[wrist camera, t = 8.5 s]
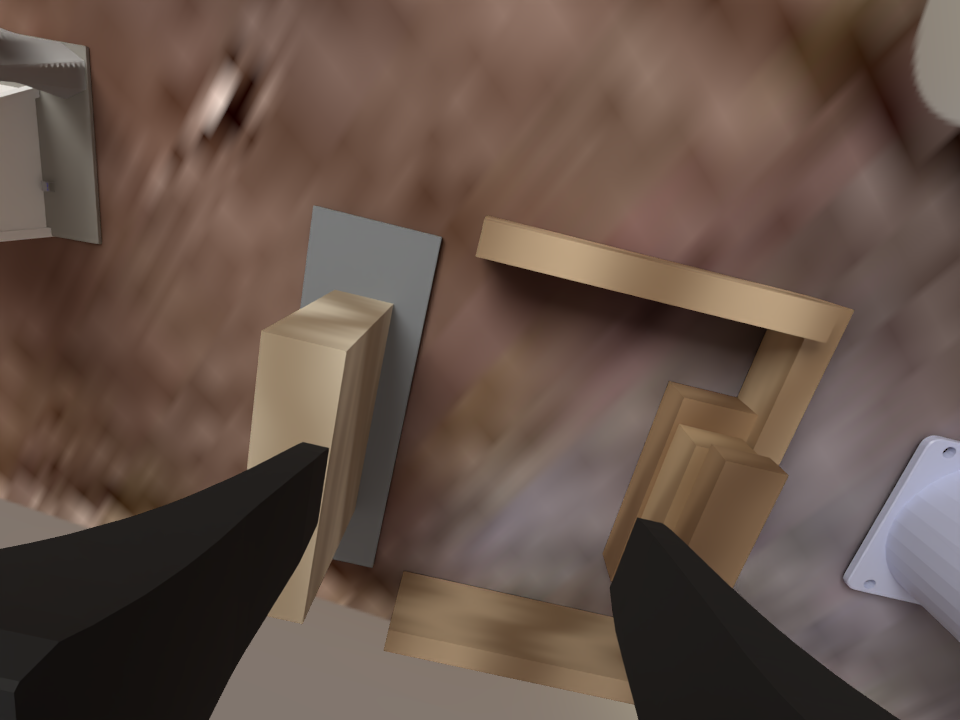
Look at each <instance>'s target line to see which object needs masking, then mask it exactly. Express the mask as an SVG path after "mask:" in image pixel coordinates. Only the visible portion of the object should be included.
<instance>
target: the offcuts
mask: <svg viewBox="0 0 960 720" xmlns="http://www.w3.org/2000/svg"><path fill="white" fill-rule="evenodd" d="M757 417H758V415H757V414H756V413H755V412H754V411H753V410H751V409H750V408H749V407H748V406H747V405H745V404H744V403H743V402H742V401H741V400H740V399H738V398H737V397H733V396H729V395H724V394H720V393H716V392H712V391H708V390H704V389H700V388H695V387H691V386H687V385H683V384H679V383H675V382H671V381H669V383H668V385H667V388H666V390H665V393H664V396H663V398H662V401H661V403H660V406H659V409H658V411H657V414H656V416H655V419H654V422H653V424H652V427H651V429H650V432H649V435H648V437H647V440H646V442H645V445H644V448H643V450H642V453H641V455H640V458H639V461H638V463H637V466H636V468H635V471H634V474H633V476H632V479H631V481H630V484H629V487H628V489H627V492H626V494H625V497H624V500H623V502H622V505H621V507H620V510H619V513H618V515H617V518H616V520H615V523H614V526H613V528H612V531H611V533H610V536H609V539H608V541H607V544H606V546H605V549H604V552H603V556H604V560H605V563H606V567H607V570H608V573H609V577H610V580H611V581H613V578H614V576H615V573H616V570H617V568H618V565H619V563H620V560H621V558H622V555H623V552H624V550H625V547H626V545H627V542H628V540H629V537H630V534H631V532H632V529H633V527H634V524H635V522H636V519H637V517H638V518H642V519H646V520H651V521H655V522H660V523H663V524H664V525H666V526H667V527H668V528H669V529H671V530H672V531H673V532H674V533H675V534H676V535H677V536H678V537H679V538H681V539H682V540H683V541H684V542H685V543H686V544H687V545H688V546H689V547H690V548H691V549H692V550H693V551H694V552H695V553H696V554H697V555H698V556H699V557H700V558H701V559H702V560H703V561H704V562H705V563H707V564H708V565H709V566H710V567H711V568H712V569H713V570H714V571H715V572H716V573H717V574H718V575H719V576H720V577H721V578H722V579H723V580H724V581H725V582H726V583H727V584H728V585H729V586H730V587H732V588H733V586H734V584H735V582H736V580H737V578H738V576H739V574H740V572H741V570H742V568H743V566H744V564H745V562H746V560H747V558H748V556H749V554H750V552H751V550H752V548H753V546H754V544H755V542H756V540H757V538H758V536H759V534H760V532H761V530H762V528H763V526H764V524H765V522H766V520H767V518H768V516H769V514H770V512H771V510H772V508H773V506H774V504H775V502H776V500H777V498H778V496H779V494H780V492H781V490H782V488H783V486H784V484H785V482H786V480H787V478H788V476H789V475H788V474H787V473H785V472H784V471H783V470H782V469H781V468H780V467H779V466H778V465H777V464H776V463H775V462H774V461H773V460H772V459H771V458H769V457H765V456H760V455H758V454H757V453H756V452H755V451H754V450H753V449H752V448H751V447H750V446H749V445H748V444H747V443H746V441H747V439H748V437H749V435H750V432H751V430H752V428H753V426H754V424H755V421H756V419H757Z"/></svg>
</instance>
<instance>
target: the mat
mask: <svg viewBox="0 0 960 720" xmlns="http://www.w3.org/2000/svg"><path fill="white" fill-rule="evenodd" d="M441 240H442V237H440V236H436V235H432V234H428V233H424V232H420V231H416V230H412V229H408V228H404V227H400V226H396V225H392V224H388V223H383V222H379V221H375V220H371V219H367V218H363V217H359V216H355V215H351V214H347V213H343V212H339V211H335V210H331V209H327V208H323V207H319V206H313V213H312V221H311V229H310V236H309V244H308V252H307V260H306V268H305V276H304V283H303V291H302V299H301V307H300V309H301V308H303V307H305V306H307V305H308V304H310V303H312V302H314V301H316V300H317V299H319V298H321V297H323V296H324V295H326V294H328V293H330V292H332V291H333V290H338V291H342V292H347V293H351V294H355V295H359V296H363V297H367V298H371V299H376V300H380V301H384V302H388V303H392V304H393V309H392V315H391V320H390V325H389V331H388V336H387V341H386V347H385V352H384V357H383V363H382V368H381V373H380V379H379V384H378V389H377V395H376V400H375V405H374V411H373V416H372V421H371V427H370V432H369V437H368V443H367V448H366V453H365V459H364V464H363V469H362V475H361V480H360V485H359V491H358V496H357V501H356V507H355V511H354V513H353V515H352V517H351V520H350V522H349V524H348V526H347V528H346V530H345V533H344V535H343V537H342V539H341V541H340V544H339V546H338V548H337V550H336V552H335V554H334V557H333V559H334V560H339V561H343V562H348V563H353V564H357V565H362V566H366V567H371V568H372V567H373V564H374V560H375V555H376V550H377V545H378V541H379V536H380V531H381V526H382V522H383V517H384V512H385V507H386V502H387V498H388V493H389V488H390V483H391V479H392V474H393V469H394V464H395V460H396V455H397V450H398V445H399V441H400V436H401V431H402V426H403V421H404V417H405V412H406V407H407V402H408V398H409V393H410V388H411V383H412V379H413V374H414V369H415V364H416V360H417V355H418V350H419V345H420V340H421V336H422V331H423V326H424V321H425V317H426V312H427V307H428V302H429V298H430V293H431V288H432V283H433V279H434V274H435V269H436V264H437V260H438V255H439V250H440V245H441Z"/></svg>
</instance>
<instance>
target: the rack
mask: <svg viewBox="0 0 960 720" xmlns="http://www.w3.org/2000/svg"><path fill="white" fill-rule="evenodd" d="M476 257H480V258H484V259H488V260H492V261H496V262H500V263H504V264H508V265H512V266H516V267H520V268H524V269H528V270H532V271H536V272H540V273H544V274H548V275H553V276H557V277H561V278H565V279H569V280H573V281H577V282H581V283H585V284H589V285H593V286H597V287H601V288H605V289H609V290H613V291H617V292H621V293H625V294H629V295H633V296H637V297H641V298H645V299H650V300H654V301H658V302H662V303H666V304H670V305H674V306H678V307H682V308H686V309H690V310H694V311H698V312H702V313H706V314H710V315H714V316H718V317H722V318H726V319H730V320H734V321H738V322H743V323H747V324H751V325H755V326H759V327H763V328H767V331H766V333H765V335H764V337H763V340H762V342H761V344H760V347H759V349H758V351H757V353H756V356H755V358H754V360H753V363H752V365H751V367H750V369H749V372H748V374H747V376H746V379H745V381H744V383H743V386H742V388H741V390H740V392H739V395H738V397H737V398H738V399H740V400H741V401H742V402H743V403H744V404H745V405H747V406H748V407H749V408H750V409H751V410H753V411H754V412H755V413H756V414H757V415H758V417H757V419H756V421H755V424H754V426H753V428H752V430H751V432H750V435H749V437H748V439H747V441H746V443H747V444H748V445H749V446H750V447H751V448H752V449H753V450H754V451H755V452H756V453H757V454H758V455H760V456H765V457H769V458H771V459H772V460H773V461H774V462H775V463H776V464H777V465H778V466H779V464H780V462H781V460H782V458H783V456H784V454H785V452H786V450H787V448H788V445H789V443H790V441H791V439H792V437H793V435H794V433H795V431H796V429H797V427H798V425H799V423H800V421H801V419H802V417H803V415H804V413H805V411H806V409H807V406H808V404H809V402H810V400H811V398H812V396H813V394H814V392H815V390H816V388H817V386H818V384H819V382H820V380H821V378H822V376H823V374H824V372H825V370H826V368H827V365H828V363H829V361H830V359H831V357H832V355H833V353H834V351H835V349H836V347H837V345H838V343H839V341H840V339H841V337H842V335H843V333H844V331H845V329H846V326H847V324H848V322H849V320H850V318H851V316H852V314H853V312H854V310H852V309H849V308H846V307H843V306H840V305H836V304H833V303H830V302H827V301H824V300H821V299H818V298H814V297H811V296H807V295H803V294H799V293H795V292H791V291H787V290H783V289H779V288H775V287H771V286H767V285H763V284H759V283H755V282H751V281H747V280H743V279H739V278H735V277H731V276H727V275H723V274H719V273H715V272H711V271H707V270H703V269H699V268H695V267H691V266H687V265H683V264H679V263H675V262H671V261H667V260H663V259H659V258H655V257H651V256H647V255H643V254H639V253H635V252H631V251H627V250H623V249H619V248H615V247H611V246H607V245H603V244H599V243H595V242H592V241H588V240H584V239H580V238H576V237H572V236H568V235H564V234H560V233H556V232H552V231H548V230H544V229H540V228H536V227H532V226H528V225H524V224H520V223H516V222H512V221H508V220H504V219H500V218H496V217H492V216H488V215H487V216H486V217H485V219H484V223H483V227H482V232H481V236H480V240H479V244H478V249H477V253H476ZM384 651H387V652H392V653H396V654H401V655H406V656H410V657H415V658H420V659H424V660H429V661H434V662H438V663H443V664H448V665H452V666H457V667H462V668H466V669H471V670H476V671H481V672H485V673H489V674H494V675H499V676H503V677H508V678H513V679H517V680H522V681H527V682H532V683H536V684H541V685H546V686H550V687H555V688H560V689H564V690H569V691H574V692H578V693H583V694H587V695H593V696H597V697H602V698H606V699H611V700H616V701H620V702H625V703H629V704H634V701H633V697H632V693H631V690H630V686H629V682H628V679H627V675H626V671H625V667H624V663H623V660H622V656H621V652H620V648H619V644H618V640H617V636H616V632H615V625H614V618H613V617H610V616H605V615H601V614H596V613H592V612H587V611H583V610H578V609H574V608H569V607H564V606H560V605H555V604H551V603H546V602H542V601H537V600H533V599H528V598H524V597H519V596H515V595H510V594H506V593H501V592H497V591H492V590H488V589H483V588H479V587H474V586H470V585H465V584H461V583H456V582H451V581H447V580H442V579H438V578H433V577H429V576H424V575H420V574H415V573H411V572H406V571H403V575H402V579H401V583H400V587H399V591H398V595H397V599H396V603H395V606H394V610H393V614H392V618H391V622H390V626H389V630H388V634H387V638H386V643H385V647H384Z"/></svg>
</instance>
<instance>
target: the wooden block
mask: <svg viewBox="0 0 960 720" xmlns="http://www.w3.org/2000/svg"><path fill="white" fill-rule="evenodd" d="M392 309H393V304H392V303H388V302H384V301H380V300H376V299H371V298H367V297H363V296H359V295H355V294H351V293H347V292H342V291H338V290H333V291H332V292H330V293H328V294H326V295H324V296H323V297H321V298H319V299H317V300H316V301H314V302H312V303H310V304H308V305H307V306H305V307H303V308H301V309H300V310H298V311H296V312H294V313H292V314H291V315H289V316H287V317H285V318H284V319H282V320H280V321H278V322H276V323H275V324H273V325H271V326H269V327H268V328H266V329H264V330H262V331H261V340H260V349H259V359H258V369H257V378H256V388H255V398H254V407H253V417H252V426H251V436H250V446H249V455H248V465H247V470H248V469H250V468H252V467H254V466H256V465H258V464H260V463H262V462H264V461H266V460H268V459H270V458H272V457H274V456H276V455H278V454H280V453H281V452H283V451H285V450H287V449H289V448H291V447H293V446H295V445H297V444H299V443H302V442H306V443H310V444H314V445H319V446H323V447H328V448H329V453H328V460H327V466H326V473H325V480H324V486H323V493H322V500H321V506H320V513H319V520H318V524H317V526H316V529H315V531H314V533H313V535H312V537H311V540H310V542H309V544H308V546H307V548H306V550H305V553H304V555H303V557H302V559H301V561H300V563H299V565H298V566H297V568H296V570H295V571H294V573H293V575H292V576H291V578H290V579H289V581H288V583H287V584H286V586H285V588H284V589H283V591H282V592H281V594H280V596H279V597H278V599H277V601H276V602H275V604H274V605H273V607H272V609H271V610H270V612H269V613H268V615H267V616H269V617H273V618H278V619H282V620H287V621H291V622H297V623H301V624H303V622H304V619H305V617H306V615H307V613H308V611H309V609H310V606H311V604H312V602H313V600H314V598H315V596H316V593H317V591H318V589H319V587H320V585H321V583H322V580H323V578H324V576H325V574H326V572H327V570H328V567H329V565H330V563H331V561H332V559H333V557H334V554H335V552H336V550H337V548H338V546H339V544H340V541H341V539H342V537H343V535H344V533H345V530H346V528H347V526H348V524H349V522H350V520H351V517H352V515H353V513H354V511H355V507H356V501H357V496H358V491H359V485H360V480H361V475H362V469H363V464H364V459H365V453H366V448H367V443H368V437H369V432H370V427H371V421H372V416H373V411H374V405H375V400H376V395H377V389H378V384H379V379H380V373H381V368H382V363H383V357H384V352H385V347H386V341H387V336H388V331H389V325H390V320H391V315H392Z"/></svg>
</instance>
